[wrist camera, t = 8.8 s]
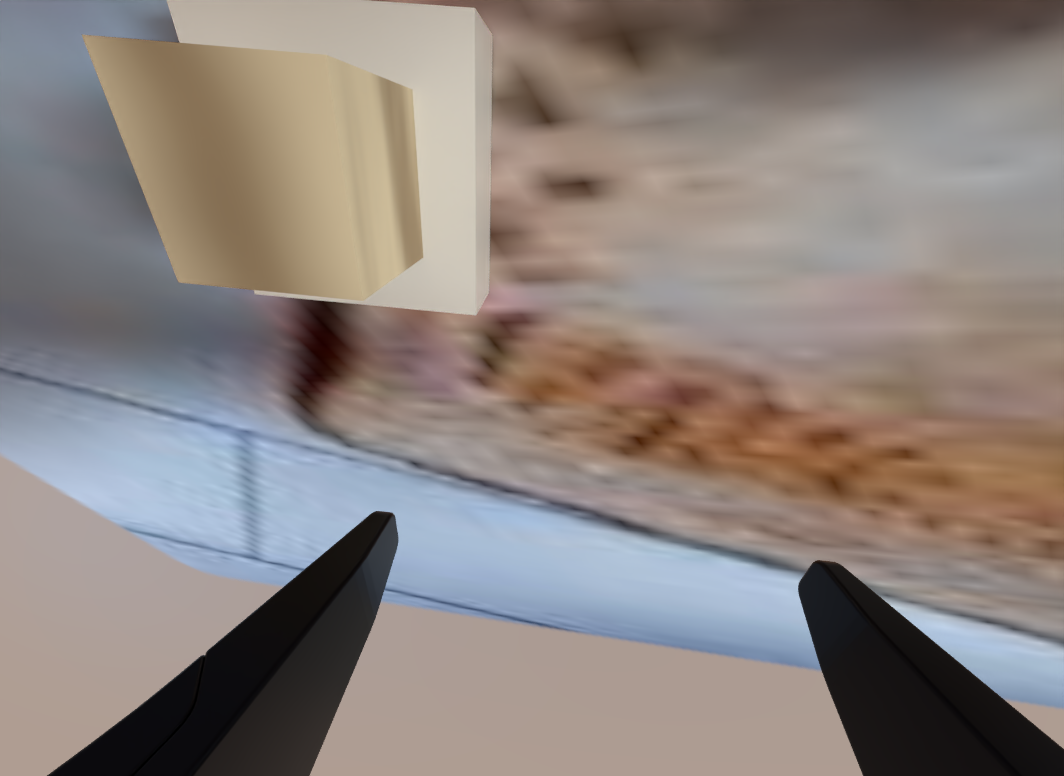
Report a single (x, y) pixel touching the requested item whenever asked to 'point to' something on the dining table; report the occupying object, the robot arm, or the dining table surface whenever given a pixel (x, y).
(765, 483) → the dining table surface
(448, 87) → the ceramic trivet
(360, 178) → the maple cube
